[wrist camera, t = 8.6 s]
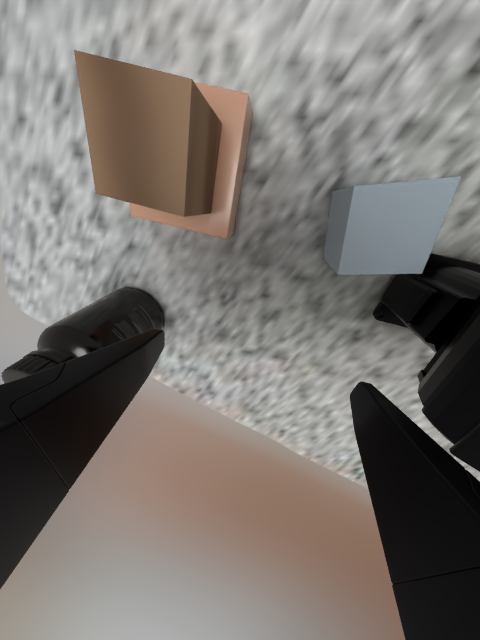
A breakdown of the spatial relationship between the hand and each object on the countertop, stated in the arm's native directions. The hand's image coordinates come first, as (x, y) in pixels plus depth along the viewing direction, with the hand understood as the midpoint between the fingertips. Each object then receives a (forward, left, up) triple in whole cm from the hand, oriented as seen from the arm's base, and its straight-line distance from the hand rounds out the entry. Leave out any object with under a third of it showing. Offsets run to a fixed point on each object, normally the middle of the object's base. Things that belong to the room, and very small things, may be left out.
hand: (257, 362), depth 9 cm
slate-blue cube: (-6, -6, -12) cm, 15 cm away
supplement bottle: (+14, +8, -12) cm, 20 cm away
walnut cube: (+8, -7, -10) cm, 14 cm away
